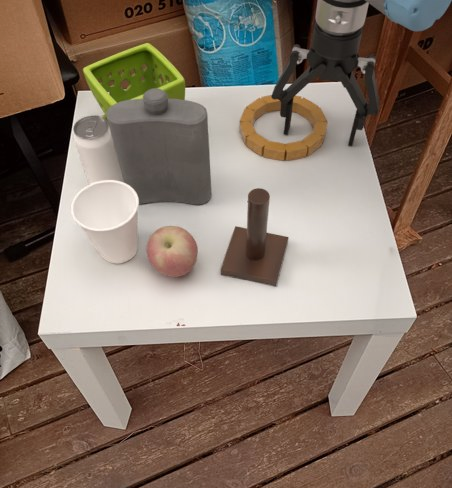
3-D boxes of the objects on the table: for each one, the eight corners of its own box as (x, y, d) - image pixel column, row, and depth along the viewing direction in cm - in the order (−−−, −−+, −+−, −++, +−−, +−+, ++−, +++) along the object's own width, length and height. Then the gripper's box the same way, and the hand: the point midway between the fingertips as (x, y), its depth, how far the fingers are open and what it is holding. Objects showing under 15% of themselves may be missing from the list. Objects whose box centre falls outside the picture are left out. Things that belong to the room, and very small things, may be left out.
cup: (134, 281, 79) (121, 238, 70) (78, 265, 81) (58, 220, 72) (158, 234, 84) (149, 188, 75) (105, 220, 86) (89, 173, 76)
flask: (212, 181, 90) (207, 82, 73) (211, 206, 87) (205, 108, 70) (129, 180, 91) (105, 82, 74) (125, 204, 88) (99, 108, 71)
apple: (140, 268, 81) (132, 237, 74) (174, 240, 83) (169, 207, 77) (176, 296, 78) (170, 266, 71) (209, 265, 81) (207, 234, 74)
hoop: (330, 110, 100) (332, 101, 98) (316, 167, 92) (318, 158, 90) (251, 97, 102) (252, 88, 100) (231, 151, 94) (231, 142, 92)
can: (85, 193, 89) (66, 140, 79) (92, 167, 92) (74, 113, 82) (122, 194, 89) (107, 140, 79) (127, 168, 92) (113, 113, 82)
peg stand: (287, 242, 83) (297, 179, 71) (276, 286, 78) (284, 227, 66) (235, 231, 84) (235, 167, 72) (220, 274, 80) (218, 213, 67)
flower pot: (158, 99, 102) (149, 39, 92) (193, 138, 96) (188, 79, 85) (96, 124, 99) (79, 65, 88) (127, 167, 92) (113, 109, 82)
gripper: (257, 25, 77) (253, 137, 96) (416, 48, 74) (379, 160, 92) (268, 0, 81) (262, 112, 99) (420, 20, 77) (384, 133, 96)
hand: (318, 135), depth 96 cm, fingers open, 12 cm apart
